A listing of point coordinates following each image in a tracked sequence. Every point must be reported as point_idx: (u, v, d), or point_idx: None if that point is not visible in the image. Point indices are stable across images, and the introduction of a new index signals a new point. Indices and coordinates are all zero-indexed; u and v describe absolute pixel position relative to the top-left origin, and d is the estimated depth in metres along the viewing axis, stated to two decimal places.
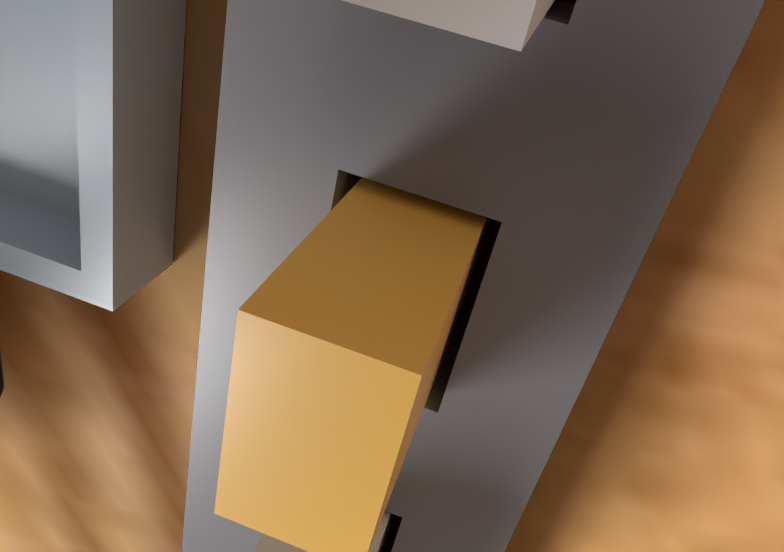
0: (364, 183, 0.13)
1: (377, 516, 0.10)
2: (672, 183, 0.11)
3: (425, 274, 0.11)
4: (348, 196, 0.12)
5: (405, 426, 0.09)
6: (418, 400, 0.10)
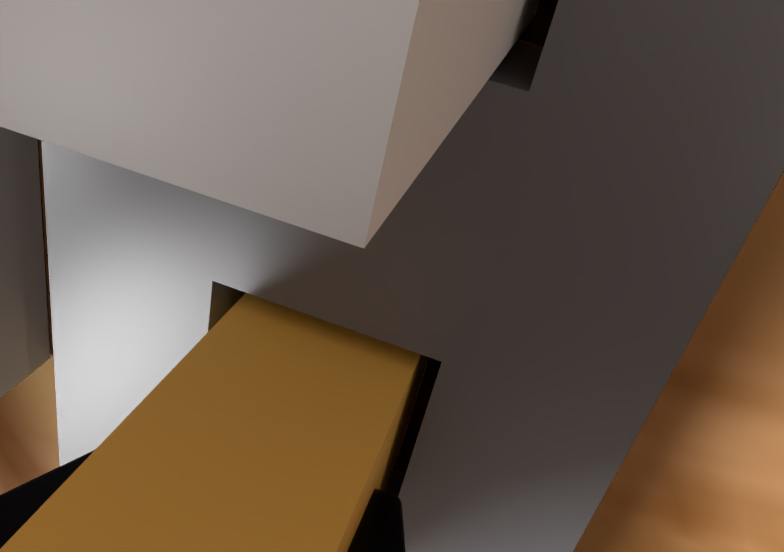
0: None
1: None
2: (689, 324, 0.07)
3: (309, 473, 0.07)
4: (223, 322, 0.09)
5: None
6: None
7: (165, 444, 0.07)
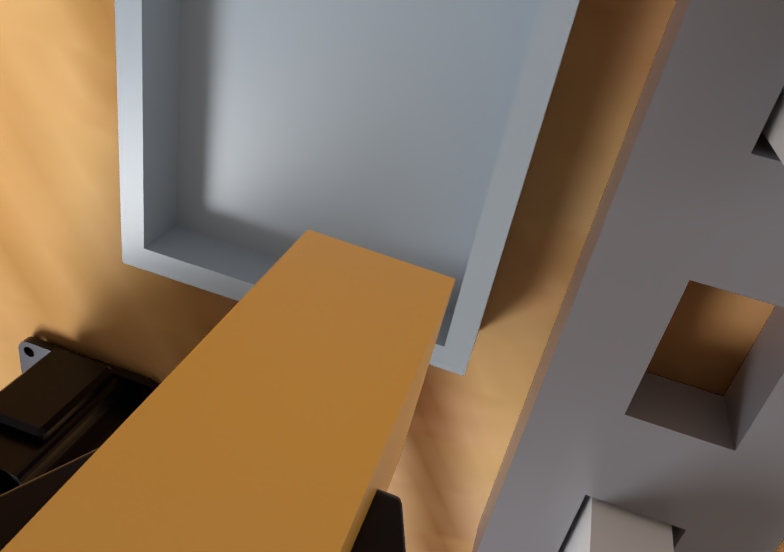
0: (257, 294, 0.09)
1: None
2: None
3: (314, 471, 0.07)
4: (226, 321, 0.09)
5: None
6: None
7: (168, 443, 0.07)
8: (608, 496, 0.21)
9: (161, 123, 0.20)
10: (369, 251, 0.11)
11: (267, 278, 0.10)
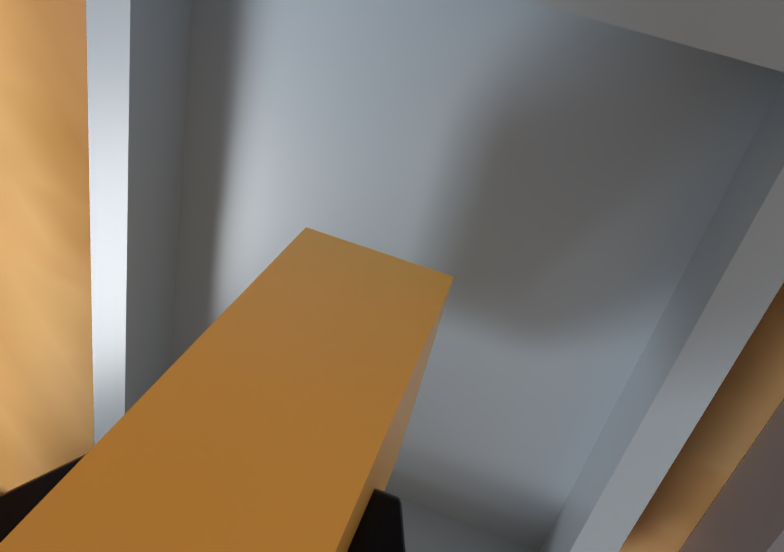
0: (254, 292, 0.09)
1: None
2: None
3: (309, 468, 0.07)
4: (223, 318, 0.09)
5: None
6: None
7: (164, 440, 0.07)
8: None
9: (152, 306, 0.15)
10: (367, 249, 0.11)
11: (264, 276, 0.10)
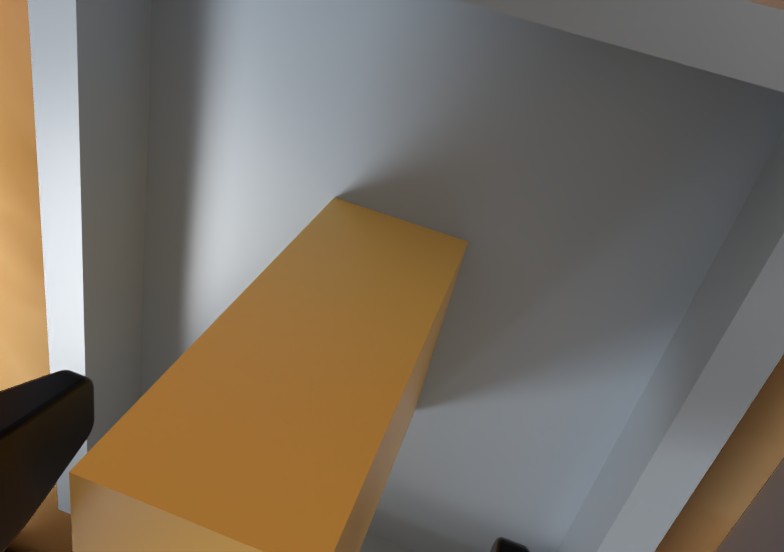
0: (293, 249, 0.10)
1: None
2: None
3: (352, 388, 0.08)
4: (269, 270, 0.10)
5: None
6: None
7: (229, 363, 0.08)
8: None
9: (115, 337, 0.14)
10: (390, 217, 0.12)
11: (301, 237, 0.11)
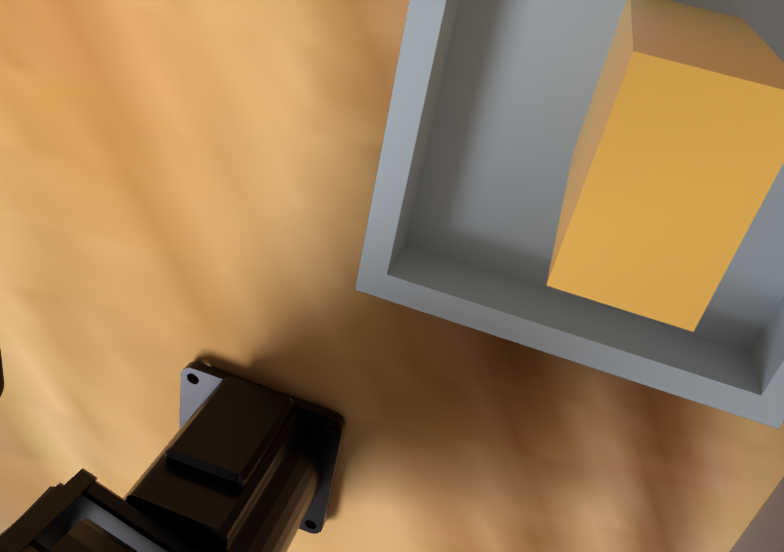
0: (636, 5, 0.14)
1: (727, 265, 0.11)
2: None
3: (748, 53, 0.11)
4: (634, 9, 0.13)
5: (783, 159, 0.10)
6: None
7: (664, 34, 0.11)
8: None
9: (425, 129, 0.17)
10: (677, 2, 0.15)
11: (634, 1, 0.14)
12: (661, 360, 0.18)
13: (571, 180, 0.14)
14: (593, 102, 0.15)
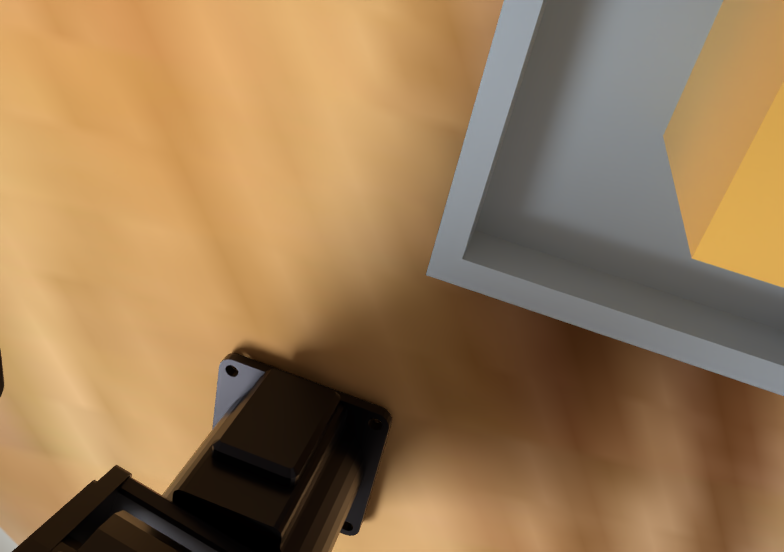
0: None
1: None
2: None
3: None
4: None
5: None
6: None
7: None
8: None
9: (512, 106, 0.17)
10: None
11: None
12: (751, 352, 0.17)
13: (688, 155, 0.13)
14: (700, 78, 0.15)
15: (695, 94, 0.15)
